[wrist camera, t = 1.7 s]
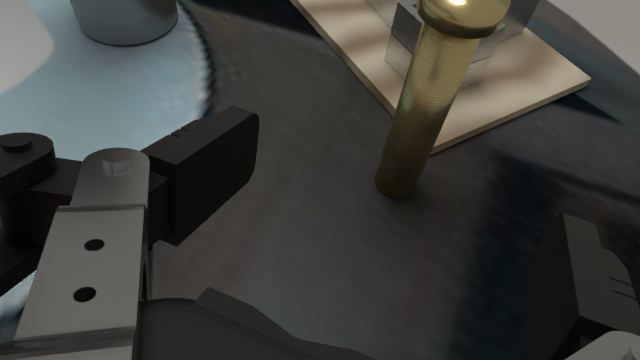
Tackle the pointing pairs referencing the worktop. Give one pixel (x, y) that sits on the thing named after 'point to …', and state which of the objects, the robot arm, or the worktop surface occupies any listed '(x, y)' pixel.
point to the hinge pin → (433, 85)
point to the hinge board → (470, 103)
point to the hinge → (405, 23)
